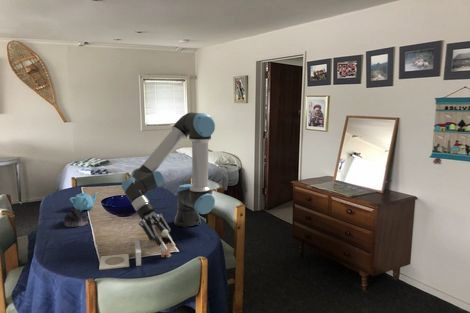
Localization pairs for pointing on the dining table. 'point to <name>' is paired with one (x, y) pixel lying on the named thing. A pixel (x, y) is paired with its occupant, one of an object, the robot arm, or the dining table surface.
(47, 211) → the dining table surface
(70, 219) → the crystal cluster
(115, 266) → the resting pad
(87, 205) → the teapot
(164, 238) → the grandmother figurine
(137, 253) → the low wall
